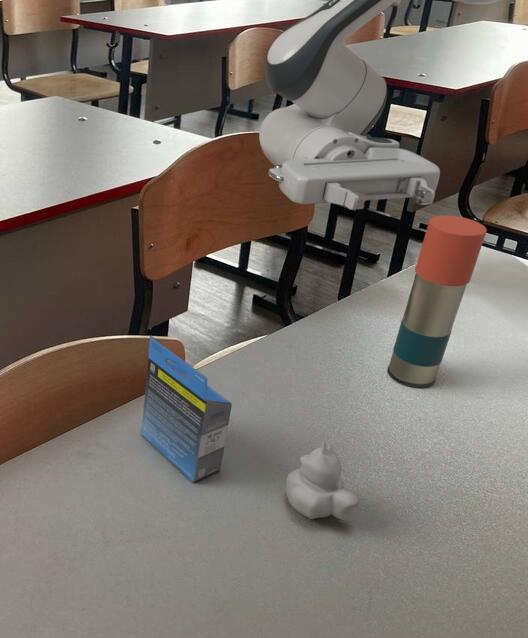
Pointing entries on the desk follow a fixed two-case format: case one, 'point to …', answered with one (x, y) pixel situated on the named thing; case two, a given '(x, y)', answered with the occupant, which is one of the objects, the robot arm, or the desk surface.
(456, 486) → the desk surface
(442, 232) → the cap
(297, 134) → the robot arm
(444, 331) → the spray can
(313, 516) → the grey animal figurine
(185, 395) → the tape cartridge
